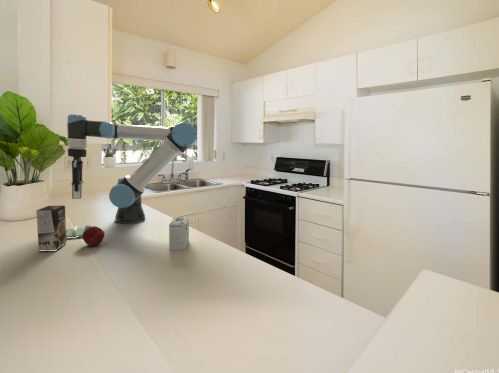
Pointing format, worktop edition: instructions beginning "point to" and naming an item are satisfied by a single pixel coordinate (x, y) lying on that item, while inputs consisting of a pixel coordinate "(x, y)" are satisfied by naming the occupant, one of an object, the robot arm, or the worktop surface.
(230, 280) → the worktop surface
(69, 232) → the board
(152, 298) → the worktop surface
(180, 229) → the light bulb box
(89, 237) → the apple
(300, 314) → the worktop surface
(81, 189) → the plug
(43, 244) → the coffee box
